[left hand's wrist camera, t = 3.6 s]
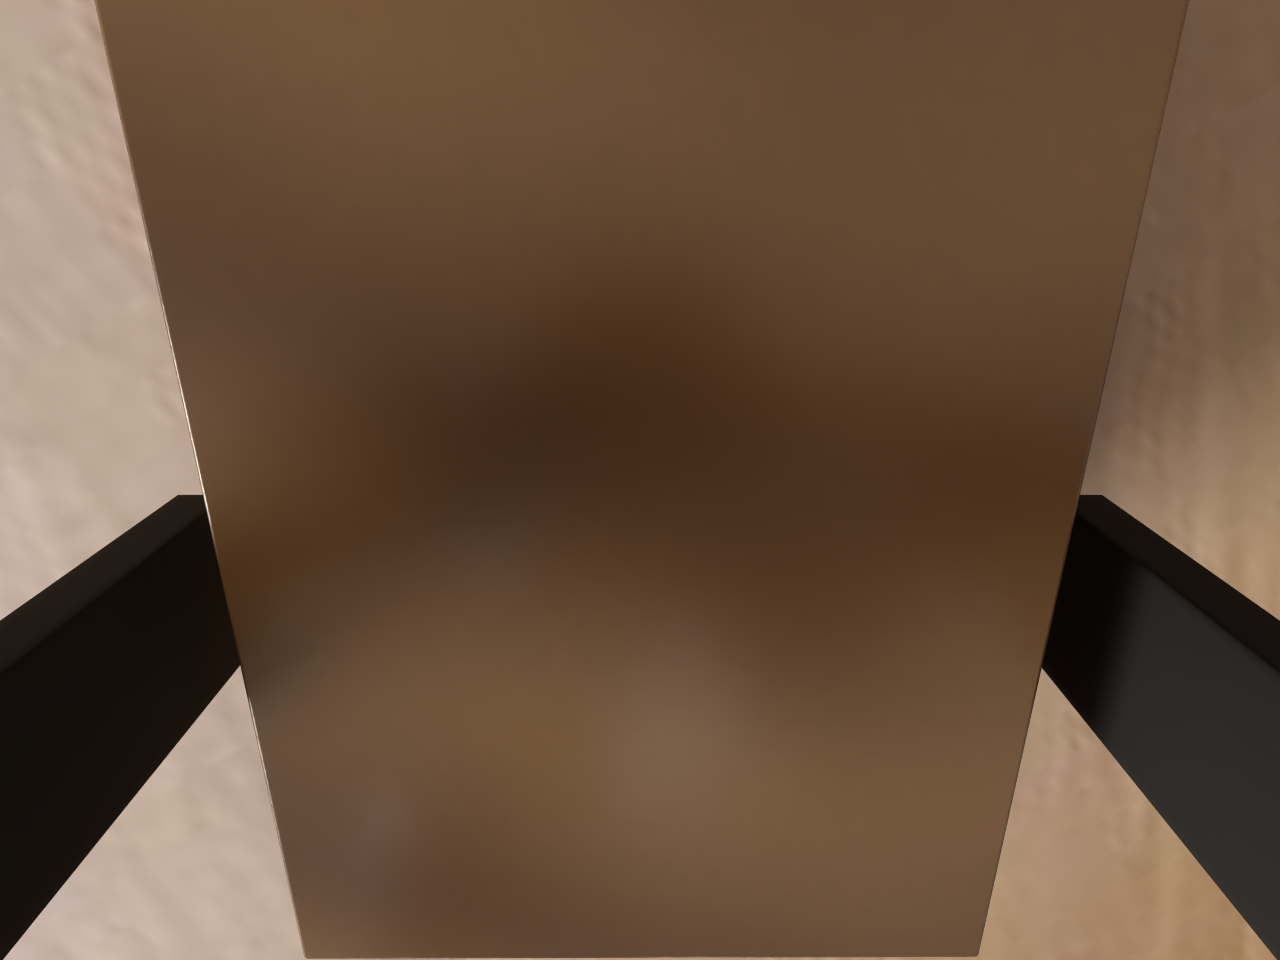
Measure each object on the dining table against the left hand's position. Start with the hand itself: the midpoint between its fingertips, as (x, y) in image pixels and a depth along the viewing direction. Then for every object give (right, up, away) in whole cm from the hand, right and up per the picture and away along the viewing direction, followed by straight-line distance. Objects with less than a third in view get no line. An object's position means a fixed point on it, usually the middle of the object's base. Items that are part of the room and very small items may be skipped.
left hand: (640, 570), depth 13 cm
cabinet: (0, +7, +6) cm, 9 cm away
